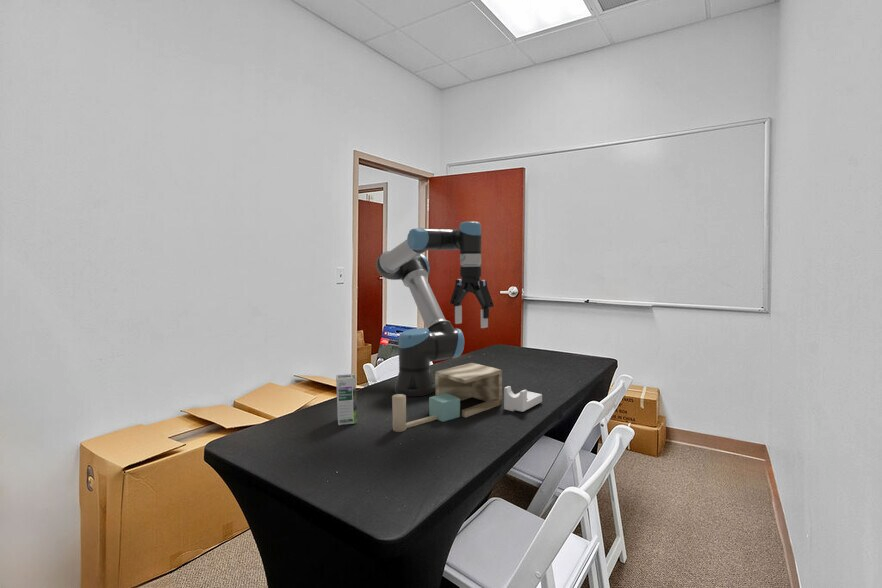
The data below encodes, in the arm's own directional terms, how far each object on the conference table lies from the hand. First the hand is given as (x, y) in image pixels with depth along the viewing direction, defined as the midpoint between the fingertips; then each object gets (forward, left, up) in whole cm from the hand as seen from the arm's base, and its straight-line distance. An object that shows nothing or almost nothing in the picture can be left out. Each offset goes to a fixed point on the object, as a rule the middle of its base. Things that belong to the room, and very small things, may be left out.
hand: (470, 325), depth 154 cm
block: (+6, -27, -26) cm, 38 cm away
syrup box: (-11, -44, -27) cm, 53 cm away
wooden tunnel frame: (+5, -6, -26) cm, 28 cm away
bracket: (+18, +7, -27) cm, 33 cm away
